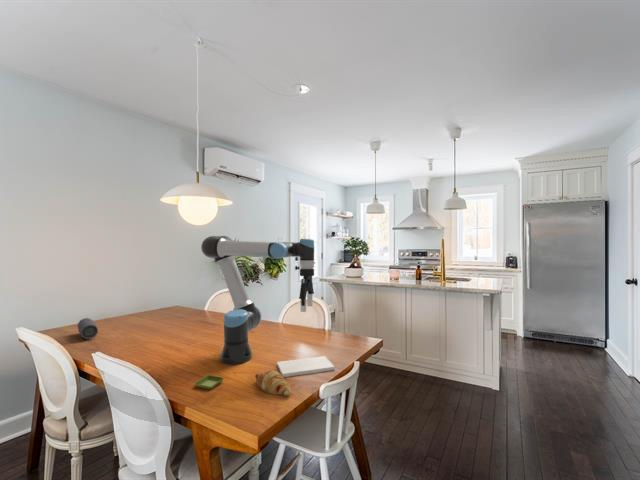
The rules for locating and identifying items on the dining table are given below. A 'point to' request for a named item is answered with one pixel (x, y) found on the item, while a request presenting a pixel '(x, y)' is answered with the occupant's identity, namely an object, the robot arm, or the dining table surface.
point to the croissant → (273, 383)
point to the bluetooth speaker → (87, 328)
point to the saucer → (209, 382)
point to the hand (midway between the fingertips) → (306, 308)
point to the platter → (304, 366)
